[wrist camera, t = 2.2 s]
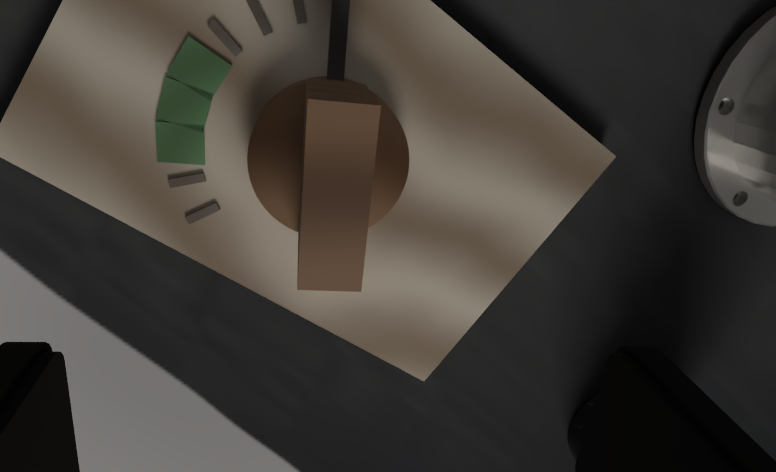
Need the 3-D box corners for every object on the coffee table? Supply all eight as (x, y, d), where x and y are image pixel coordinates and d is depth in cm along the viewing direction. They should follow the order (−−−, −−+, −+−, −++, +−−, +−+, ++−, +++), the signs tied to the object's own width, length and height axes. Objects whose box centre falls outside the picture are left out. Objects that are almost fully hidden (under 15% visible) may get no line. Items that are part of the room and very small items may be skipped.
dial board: (181, -203, 21) (171, -219, 19) (601, 149, 29) (618, 157, 27) (4, 141, 25) (-16, 150, 23) (418, 365, 33) (424, 383, 31)
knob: (394, 229, 27) (420, 293, 21) (249, 222, 26) (233, 288, 20) (423, -1, 23) (465, -1, 17) (252, -23, 22) (234, -30, 16)
